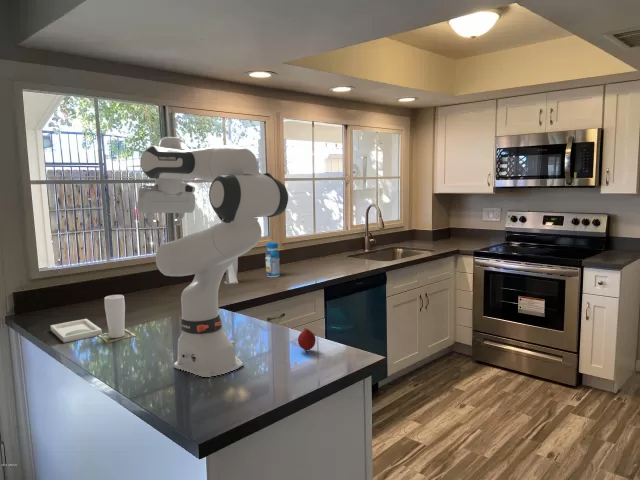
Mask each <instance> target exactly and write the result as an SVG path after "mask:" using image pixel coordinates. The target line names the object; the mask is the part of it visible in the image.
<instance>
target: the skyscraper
mask: <svg viewBox="0 0 640 480" xmlns="http://www.w3.org/2000/svg"><path fill="white" fill-rule="evenodd" d="M238 258H239V257H237V258H235V260H234V262H233V263H232V264H231V265H230V266H229V268H228V269H227V270H226V272H225V281H223V283H224V284H225V285H237V284H239V283H240V282H239V281H238V276H237V275H238V266H239V261H238V260H239V259H238Z"/></svg>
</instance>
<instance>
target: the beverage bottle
mask: <svg viewBox="0 0 640 480" xmlns="http://www.w3.org/2000/svg"><path fill="white" fill-rule="evenodd" d="M278 245H279V243H278V242H266V246H265V247H266V249H267V250H266V252H265V258H264V261H265V275H266V277H268V278H278V277H280V276H281V274H280V273H281V272H280V271H281V270H280V259H281V258H280V252H279V251H278V248H279V246H278Z"/></svg>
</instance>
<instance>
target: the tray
mask: <svg viewBox="0 0 640 480" xmlns="http://www.w3.org/2000/svg"><path fill="white" fill-rule="evenodd" d="M50 331H51V332H52V333H53V334H54V335H55V336H56V337H57V338H58V339H59V340H60V341H61V342H62V343H64V344H65V343H69V342H74V341H79V340H80V341H81V340H84V339H89V338H93V337H94V338H95V337H97V336H98V335H102V334H103V330H102V328H101V327H99V326H98V325H96V324H94V323H93V322H92V321H91V320H89V319H88V318H83V319H77V320H72V321H67V322H66V321H65V322H62V323H56V324H52V325H51V324H50ZM98 337H99V336H98Z"/></svg>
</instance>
